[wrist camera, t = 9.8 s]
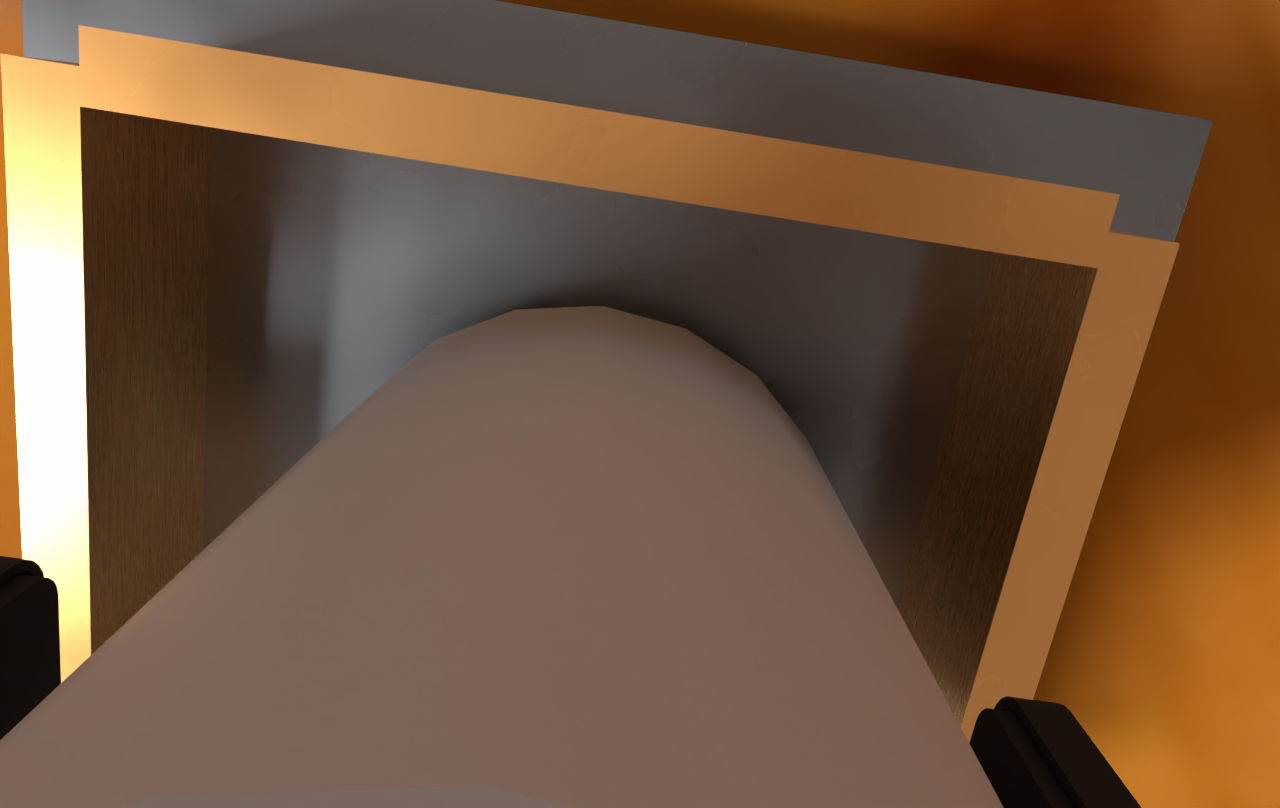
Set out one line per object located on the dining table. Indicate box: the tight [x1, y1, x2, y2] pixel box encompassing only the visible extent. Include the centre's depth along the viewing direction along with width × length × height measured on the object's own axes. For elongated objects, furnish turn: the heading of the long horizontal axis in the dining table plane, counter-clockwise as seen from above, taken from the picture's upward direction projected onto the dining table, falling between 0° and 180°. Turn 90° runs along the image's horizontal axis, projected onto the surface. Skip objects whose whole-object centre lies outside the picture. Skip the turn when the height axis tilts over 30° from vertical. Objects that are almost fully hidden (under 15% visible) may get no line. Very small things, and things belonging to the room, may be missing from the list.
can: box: [0, 306, 1003, 808], centre depth 8 cm, size 8×8×12 cm
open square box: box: [1, 0, 1213, 743], centre depth 14 cm, size 16×15×5 cm
